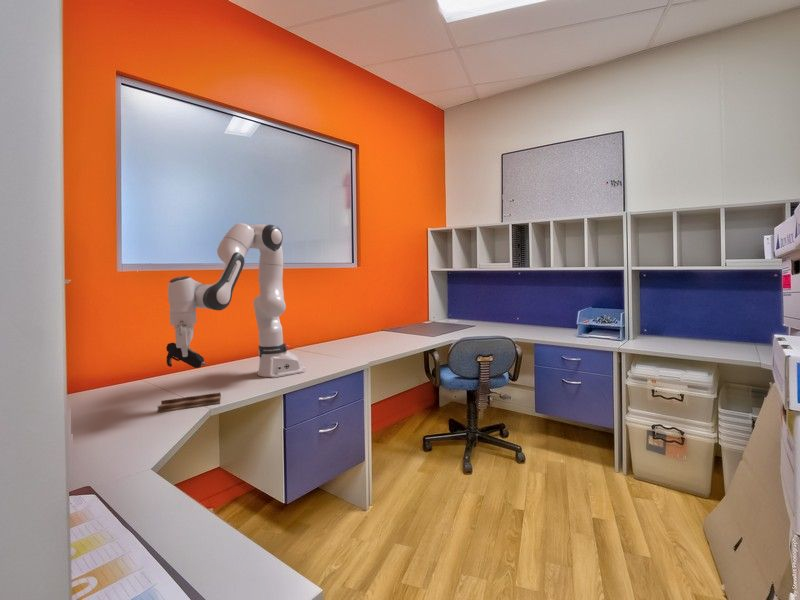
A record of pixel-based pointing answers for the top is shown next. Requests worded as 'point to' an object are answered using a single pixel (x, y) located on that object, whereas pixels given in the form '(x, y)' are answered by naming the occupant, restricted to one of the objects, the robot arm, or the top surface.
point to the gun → (191, 359)
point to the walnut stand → (189, 402)
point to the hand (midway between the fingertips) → (186, 355)
